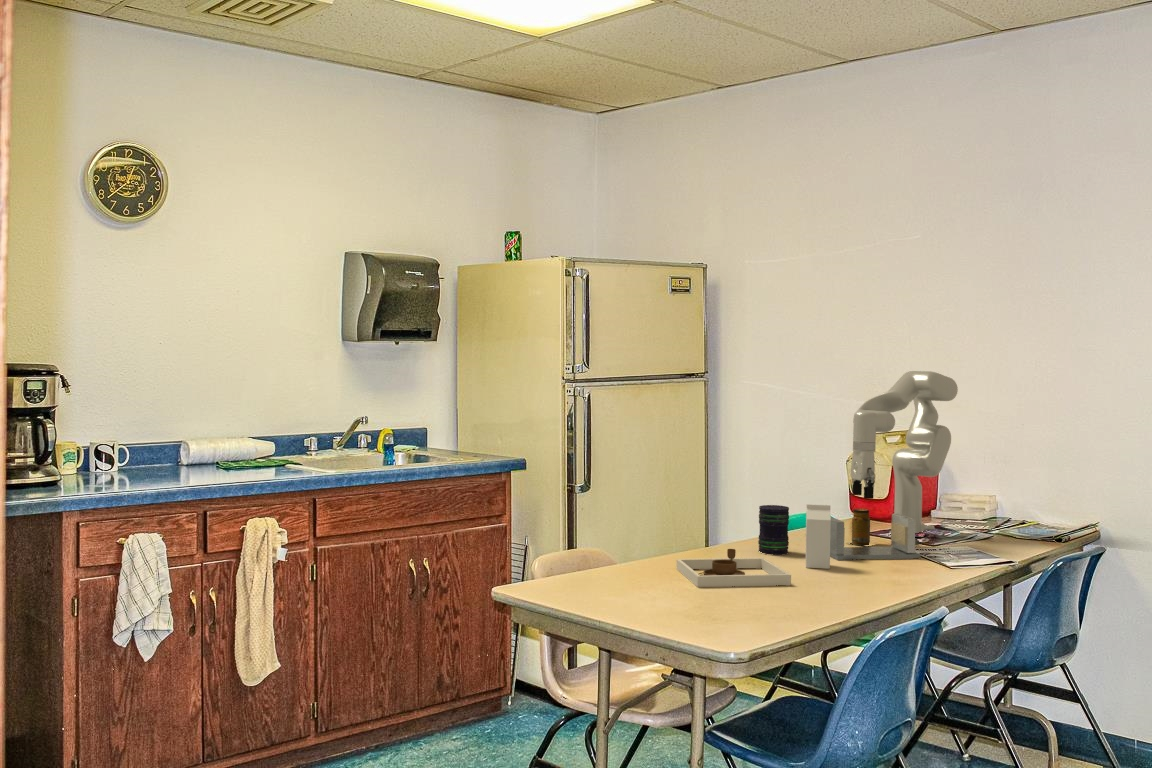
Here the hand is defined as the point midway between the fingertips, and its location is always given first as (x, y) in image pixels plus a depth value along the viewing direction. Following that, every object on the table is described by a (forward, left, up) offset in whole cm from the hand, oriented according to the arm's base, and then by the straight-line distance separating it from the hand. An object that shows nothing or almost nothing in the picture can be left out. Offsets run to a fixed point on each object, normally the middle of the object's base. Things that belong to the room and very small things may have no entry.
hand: (862, 496), depth 364 cm
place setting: (+61, +49, -17) cm, 80 cm away
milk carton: (+30, +36, -17) cm, 49 cm away
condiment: (0, 0, -17) cm, 17 cm away
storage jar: (+36, +12, -17) cm, 41 cm away
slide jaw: (-7, +20, -15) cm, 26 cm away
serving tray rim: (+61, +49, -17) cm, 79 cm away
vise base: (+6, +20, -17) cm, 26 cm away
